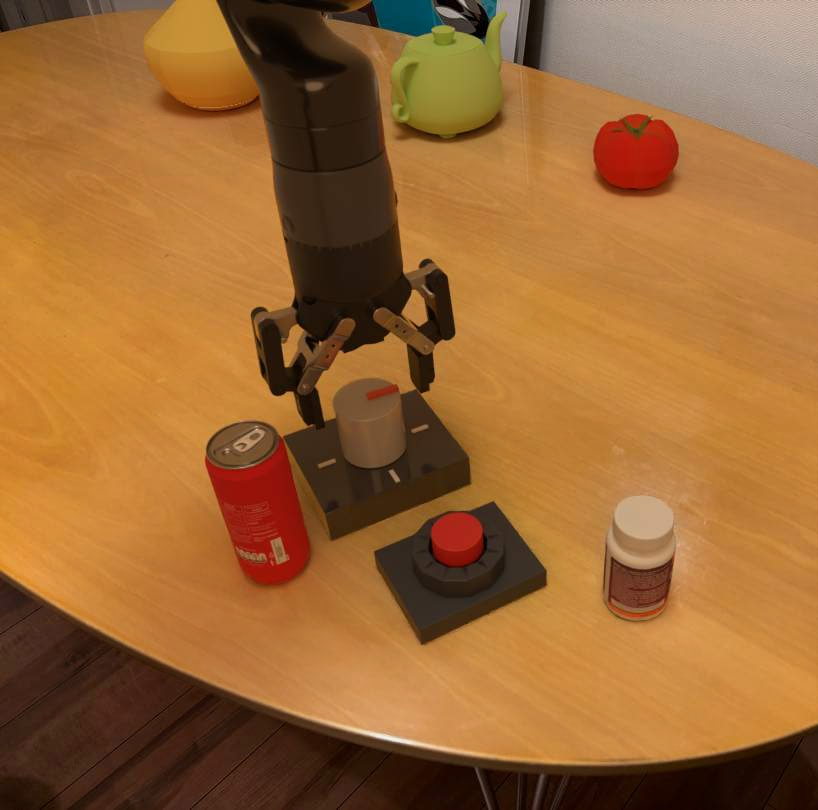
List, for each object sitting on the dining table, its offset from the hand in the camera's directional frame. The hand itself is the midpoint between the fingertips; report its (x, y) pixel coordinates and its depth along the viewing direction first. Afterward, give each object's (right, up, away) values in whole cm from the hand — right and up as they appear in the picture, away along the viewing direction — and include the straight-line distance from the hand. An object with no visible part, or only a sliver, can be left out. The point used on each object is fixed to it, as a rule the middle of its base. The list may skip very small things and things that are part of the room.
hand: (369, 404), depth 68 cm
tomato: (+25, +29, +46) cm, 60 cm away
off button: (+7, -10, -5) cm, 14 cm away
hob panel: (0, -6, +5) cm, 8 cm away
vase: (-35, +46, +66) cm, 88 cm away
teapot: (+1, +41, +61) cm, 73 cm away
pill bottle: (+20, -14, -4) cm, 25 cm away
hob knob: (0, -3, +3) cm, 5 cm away
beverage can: (-6, -12, -2) cm, 14 cm away
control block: (+7, -13, -3) cm, 15 cm away
